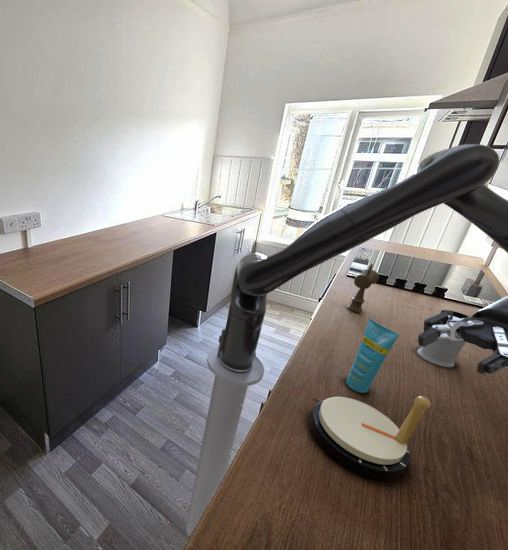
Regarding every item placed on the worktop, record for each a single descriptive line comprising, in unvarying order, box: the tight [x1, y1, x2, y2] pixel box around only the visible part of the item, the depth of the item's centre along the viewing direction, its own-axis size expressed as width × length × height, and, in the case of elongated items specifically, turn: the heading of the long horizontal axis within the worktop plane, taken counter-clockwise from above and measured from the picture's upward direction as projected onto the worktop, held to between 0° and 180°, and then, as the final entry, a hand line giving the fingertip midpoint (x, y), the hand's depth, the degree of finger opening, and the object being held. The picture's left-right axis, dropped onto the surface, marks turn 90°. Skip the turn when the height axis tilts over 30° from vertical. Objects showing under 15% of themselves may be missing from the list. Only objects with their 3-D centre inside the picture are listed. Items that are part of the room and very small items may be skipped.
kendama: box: [347, 263, 380, 313], centre depth 115 cm, size 6×10×20 cm, turn 130°
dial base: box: [309, 400, 411, 483], centre depth 63 cm, size 17×17×3 cm
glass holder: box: [416, 309, 472, 368], centre depth 90 cm, size 9×14×15 cm, turn 110°
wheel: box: [319, 395, 432, 465], centre depth 60 cm, size 15×15×13 cm
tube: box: [345, 317, 400, 394], centre depth 75 cm, size 7×5×19 cm, turn 19°
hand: (448, 354), depth 52 cm, fingers open, 8 cm apart
